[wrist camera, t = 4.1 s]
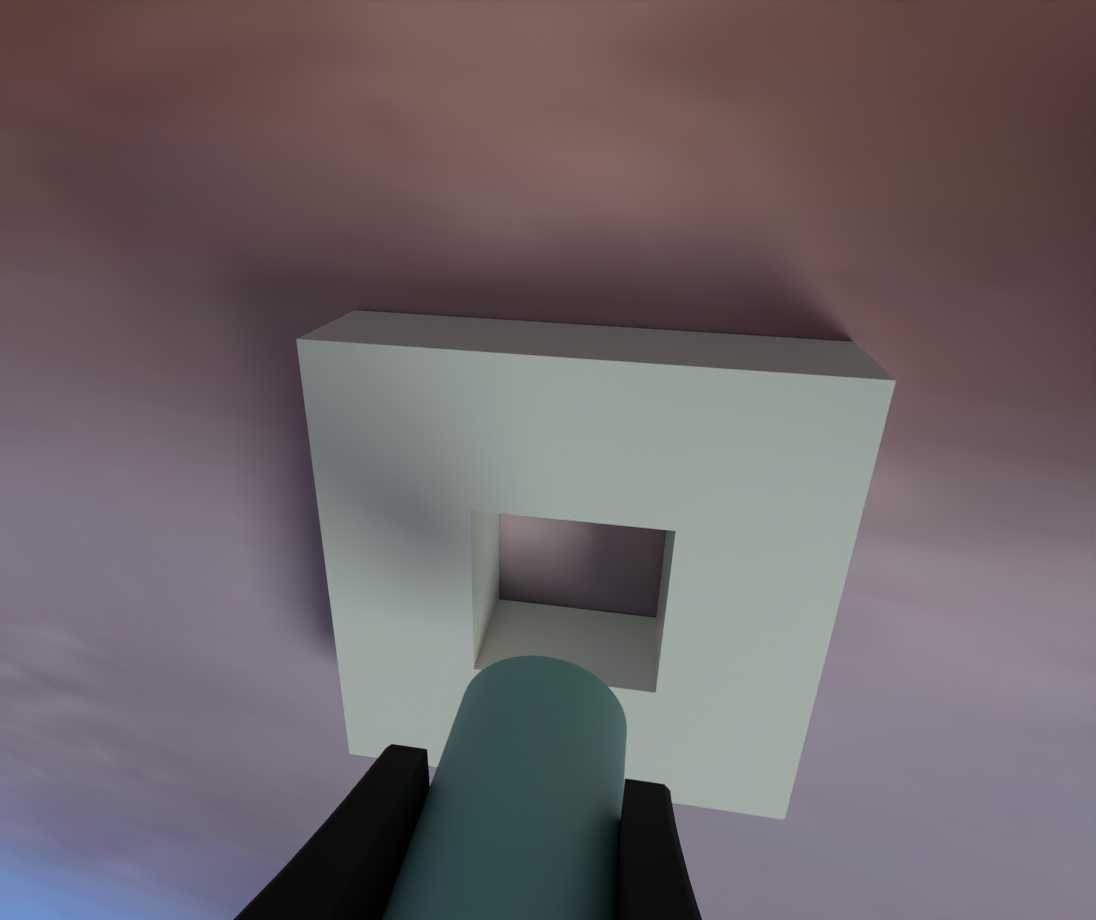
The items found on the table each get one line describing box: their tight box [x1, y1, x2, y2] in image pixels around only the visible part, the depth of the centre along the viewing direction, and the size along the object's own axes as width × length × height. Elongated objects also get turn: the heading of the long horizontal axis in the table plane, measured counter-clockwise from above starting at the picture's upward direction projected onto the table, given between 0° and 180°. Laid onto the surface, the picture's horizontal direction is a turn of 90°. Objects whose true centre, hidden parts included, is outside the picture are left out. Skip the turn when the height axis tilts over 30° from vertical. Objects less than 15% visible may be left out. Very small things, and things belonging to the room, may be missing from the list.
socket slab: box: [296, 310, 896, 819], centre depth 17 cm, size 12×12×3 cm
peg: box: [382, 655, 627, 920], centre depth 10 cm, size 3×3×7 cm
